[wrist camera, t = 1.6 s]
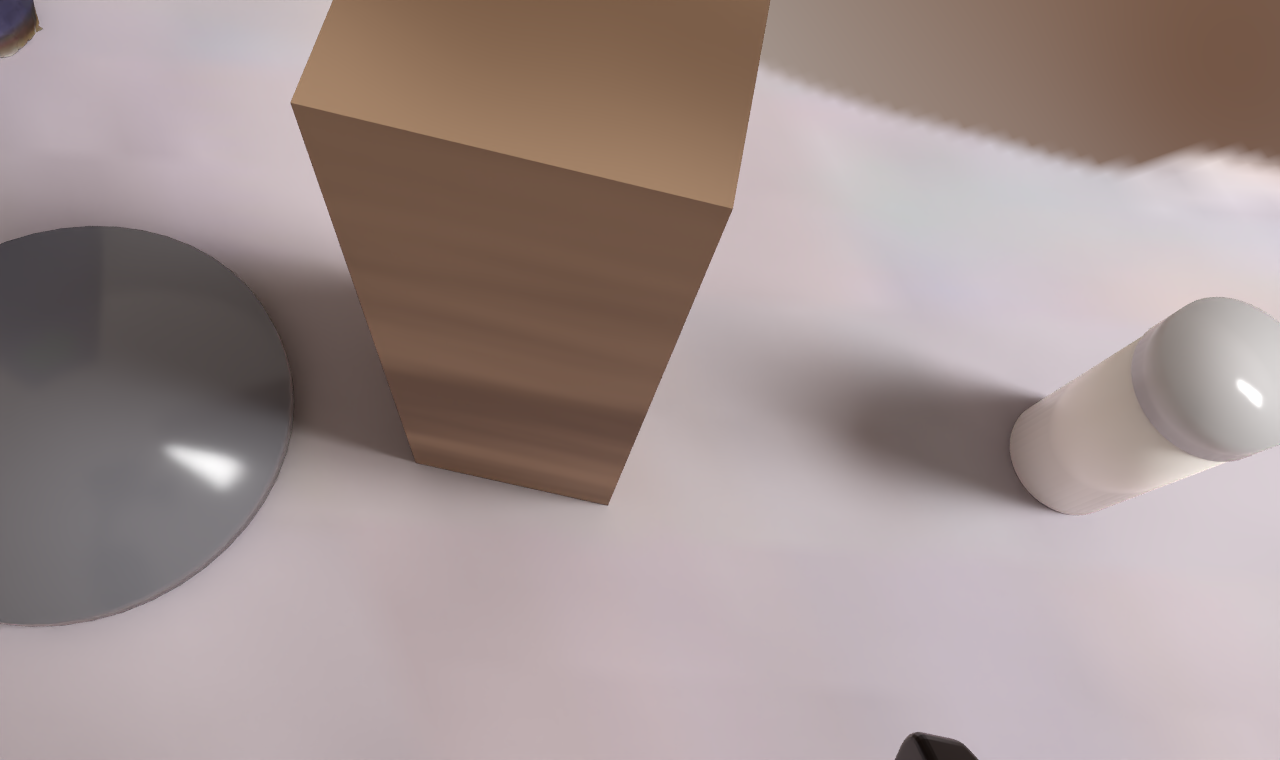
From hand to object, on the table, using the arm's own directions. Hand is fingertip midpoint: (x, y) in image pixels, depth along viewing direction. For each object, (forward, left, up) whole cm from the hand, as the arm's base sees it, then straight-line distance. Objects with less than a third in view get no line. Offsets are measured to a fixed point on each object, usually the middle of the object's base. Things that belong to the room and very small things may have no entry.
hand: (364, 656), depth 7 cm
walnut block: (+7, +2, -13) cm, 15 cm away
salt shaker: (+13, -10, -13) cm, 21 cm away
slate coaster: (+1, +10, -13) cm, 17 cm away
